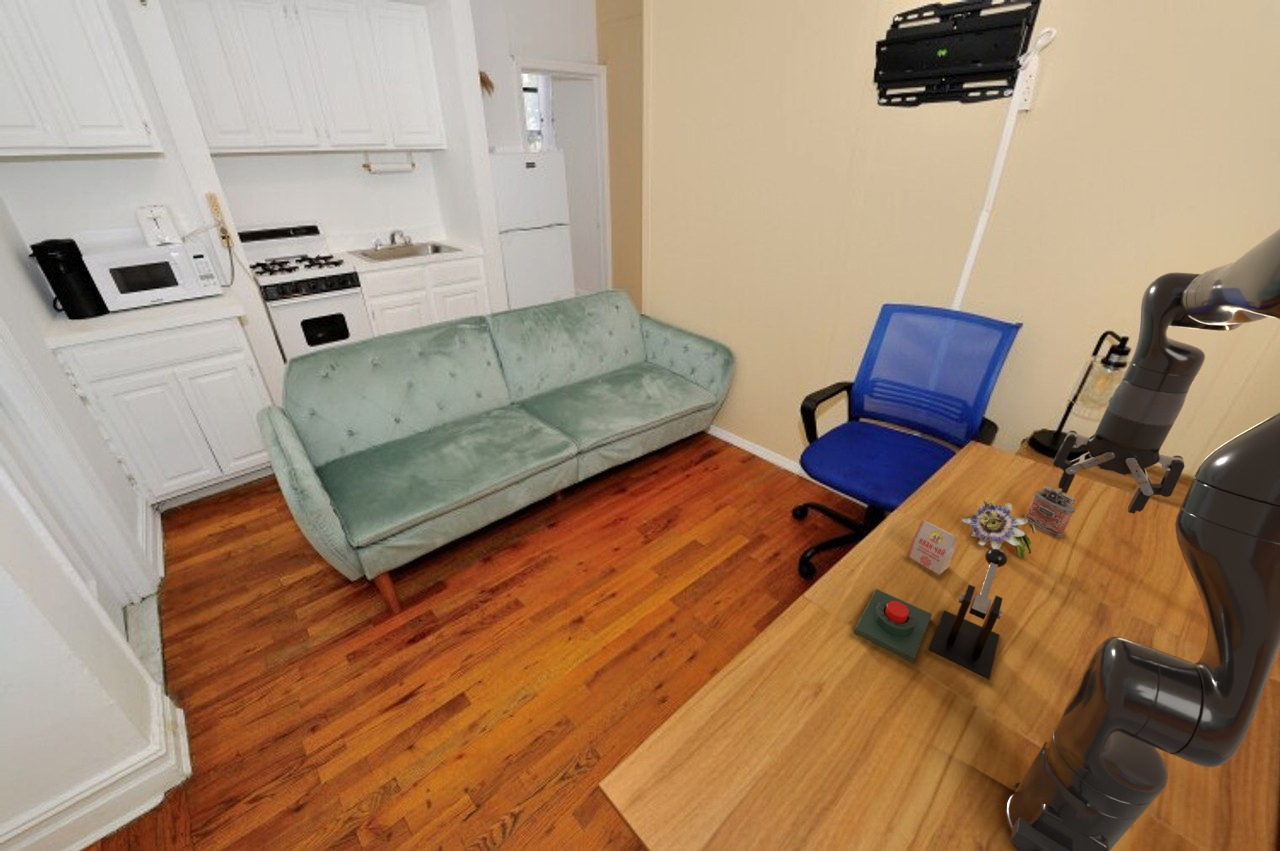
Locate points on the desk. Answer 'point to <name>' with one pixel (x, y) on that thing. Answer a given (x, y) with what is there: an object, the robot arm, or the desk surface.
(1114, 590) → the desk surface
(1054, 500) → the lighter
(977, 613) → the switch
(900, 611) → the button
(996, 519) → the passion flower
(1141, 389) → the robot arm
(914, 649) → the button block
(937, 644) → the bracket
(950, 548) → the tea bag
